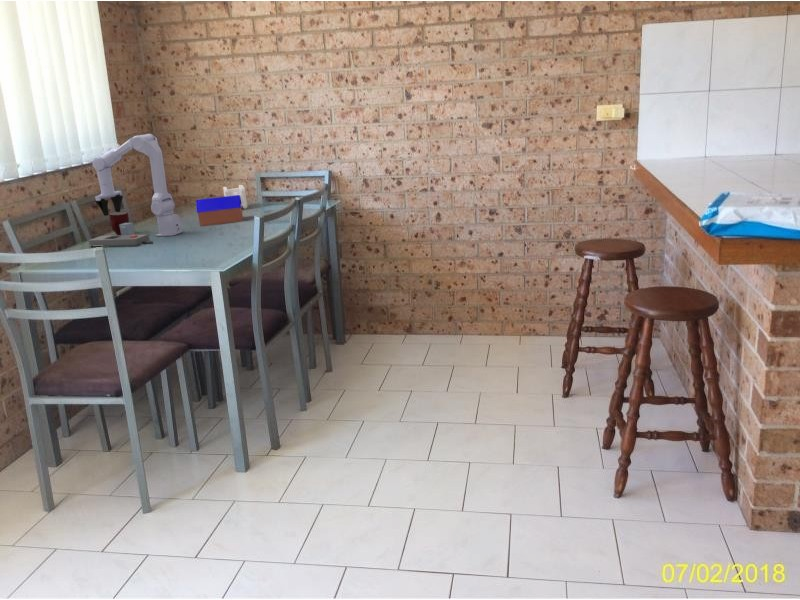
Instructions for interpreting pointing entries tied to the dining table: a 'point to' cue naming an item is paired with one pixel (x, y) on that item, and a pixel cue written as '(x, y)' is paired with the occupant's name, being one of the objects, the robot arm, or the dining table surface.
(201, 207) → the blue-topped brown box
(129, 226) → the block
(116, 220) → the mug
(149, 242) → the power strip
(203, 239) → the dining table surface
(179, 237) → the dining table surface
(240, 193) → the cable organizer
